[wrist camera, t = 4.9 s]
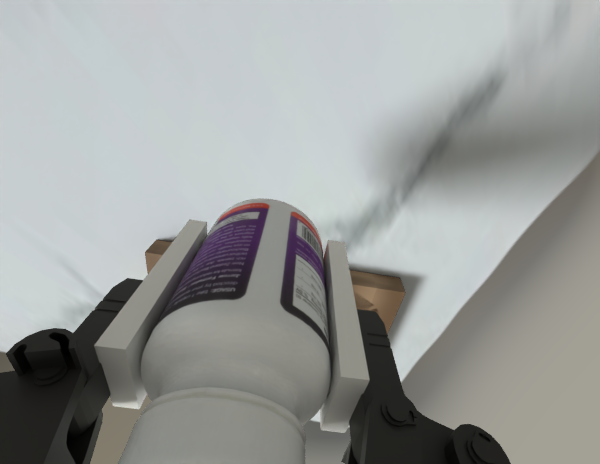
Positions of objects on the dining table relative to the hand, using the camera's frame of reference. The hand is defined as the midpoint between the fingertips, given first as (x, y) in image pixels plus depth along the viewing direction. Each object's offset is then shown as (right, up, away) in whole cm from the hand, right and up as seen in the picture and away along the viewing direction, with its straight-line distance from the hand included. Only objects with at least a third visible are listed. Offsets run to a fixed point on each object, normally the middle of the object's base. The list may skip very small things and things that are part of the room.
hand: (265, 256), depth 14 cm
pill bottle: (0, +1, +1) cm, 1 cm away
